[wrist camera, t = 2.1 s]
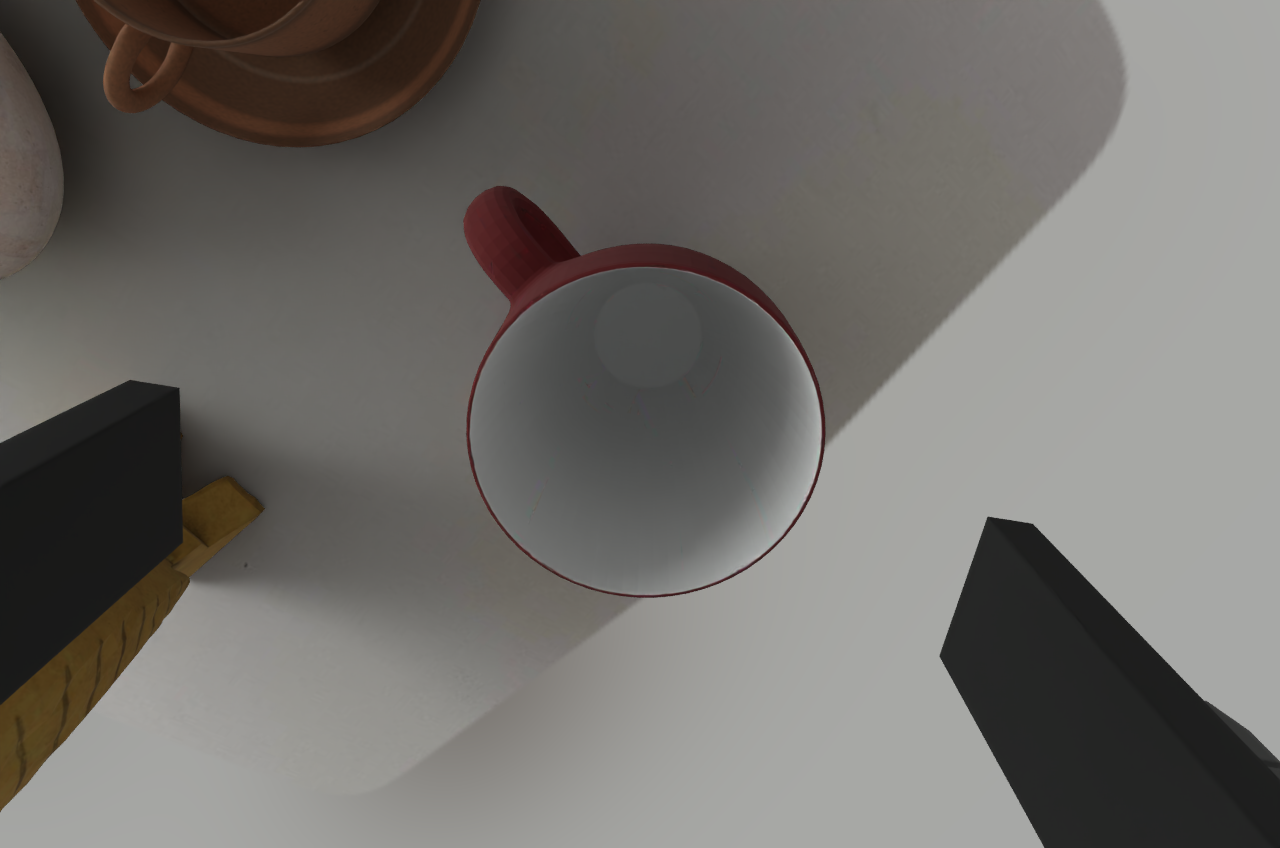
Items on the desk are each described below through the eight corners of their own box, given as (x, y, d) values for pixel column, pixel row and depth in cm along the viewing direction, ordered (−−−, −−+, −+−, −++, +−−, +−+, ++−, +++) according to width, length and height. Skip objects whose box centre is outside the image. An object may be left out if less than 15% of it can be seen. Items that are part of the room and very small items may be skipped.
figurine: (40, 474, 30) (-510, 790, 16) (151, 359, 28) (-348, 597, 14) (193, 600, 31) (-176, 987, 17) (306, 499, 30) (0, 834, 16)
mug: (420, 299, 27) (298, 392, 18) (572, 101, 25) (523, 88, 16) (660, 488, 30) (664, 658, 20) (818, 321, 27) (905, 424, 18)
